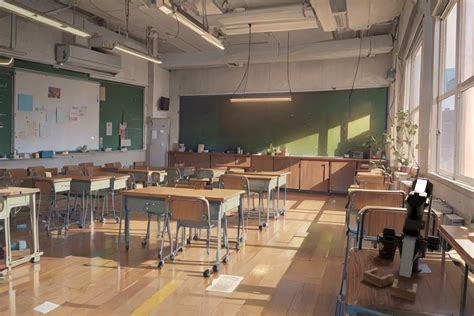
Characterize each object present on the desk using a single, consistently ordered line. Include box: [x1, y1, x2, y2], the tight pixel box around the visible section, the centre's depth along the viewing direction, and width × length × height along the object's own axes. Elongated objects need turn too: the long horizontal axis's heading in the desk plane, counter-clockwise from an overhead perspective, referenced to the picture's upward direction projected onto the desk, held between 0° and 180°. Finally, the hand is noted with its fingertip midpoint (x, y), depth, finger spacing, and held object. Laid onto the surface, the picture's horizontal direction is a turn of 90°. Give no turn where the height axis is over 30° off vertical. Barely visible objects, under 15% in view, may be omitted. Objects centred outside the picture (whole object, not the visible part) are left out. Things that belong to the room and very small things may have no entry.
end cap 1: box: [362, 267, 394, 288], centre depth 148 cm, size 8×8×4 cm
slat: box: [399, 236, 416, 278], centre depth 138 cm, size 4×4×13 cm
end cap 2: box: [390, 278, 418, 302], centre depth 138 cm, size 8×8×4 cm
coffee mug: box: [376, 232, 398, 261], centre depth 178 cm, size 12×9×10 cm
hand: (406, 259), depth 137 cm, fingers closed on slat, 3 cm apart
